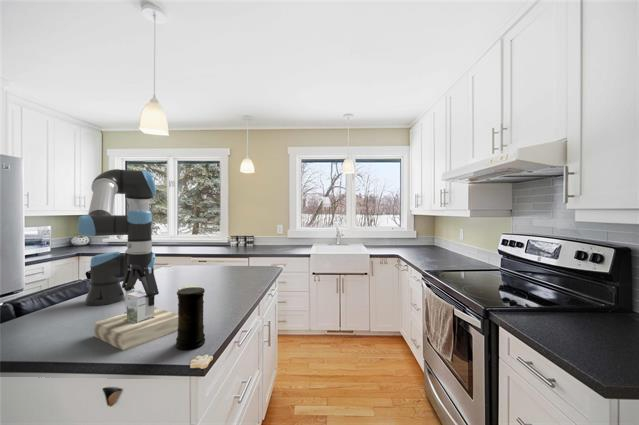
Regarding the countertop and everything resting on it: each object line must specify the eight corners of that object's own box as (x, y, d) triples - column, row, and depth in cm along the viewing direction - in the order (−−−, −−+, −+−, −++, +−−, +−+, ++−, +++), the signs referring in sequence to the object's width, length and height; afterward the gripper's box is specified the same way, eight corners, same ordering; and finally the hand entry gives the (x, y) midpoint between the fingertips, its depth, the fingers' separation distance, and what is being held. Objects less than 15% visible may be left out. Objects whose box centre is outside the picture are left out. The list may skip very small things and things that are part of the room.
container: (181, 338, 100) (182, 286, 100) (208, 337, 101) (208, 286, 101) (170, 351, 91) (170, 294, 91) (200, 350, 92) (200, 293, 92)
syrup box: (152, 330, 107) (152, 291, 107) (137, 337, 101) (137, 295, 101) (141, 328, 109) (141, 289, 109) (125, 334, 103) (125, 293, 103)
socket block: (94, 336, 102) (94, 322, 102) (152, 318, 119) (152, 306, 119) (122, 350, 91) (123, 334, 91) (181, 328, 108) (181, 315, 108)
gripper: (111, 251, 108) (111, 308, 108) (147, 256, 95) (147, 321, 95) (132, 249, 115) (132, 302, 115) (169, 254, 102) (169, 314, 102)
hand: (139, 311), depth 105 cm, fingers open, 13 cm apart
